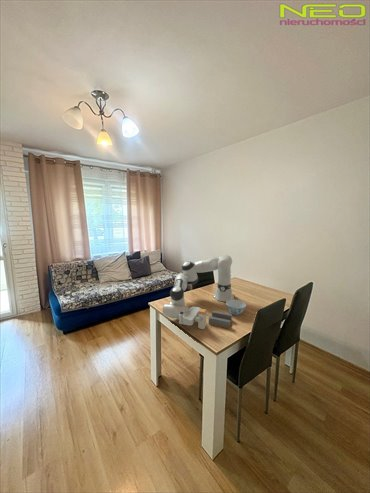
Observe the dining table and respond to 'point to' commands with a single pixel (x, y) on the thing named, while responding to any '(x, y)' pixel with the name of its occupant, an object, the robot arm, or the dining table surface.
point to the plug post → (203, 315)
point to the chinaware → (236, 306)
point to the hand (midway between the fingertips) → (203, 317)
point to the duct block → (220, 319)
